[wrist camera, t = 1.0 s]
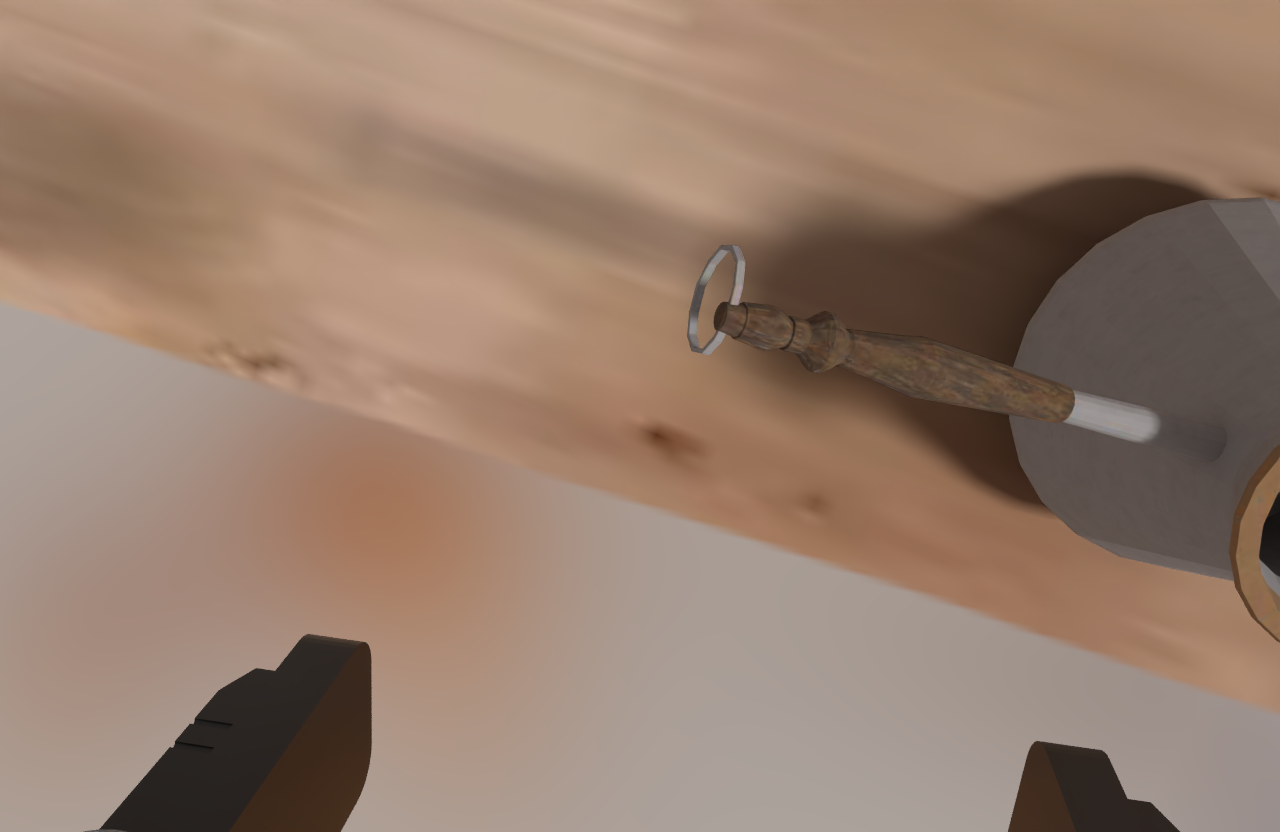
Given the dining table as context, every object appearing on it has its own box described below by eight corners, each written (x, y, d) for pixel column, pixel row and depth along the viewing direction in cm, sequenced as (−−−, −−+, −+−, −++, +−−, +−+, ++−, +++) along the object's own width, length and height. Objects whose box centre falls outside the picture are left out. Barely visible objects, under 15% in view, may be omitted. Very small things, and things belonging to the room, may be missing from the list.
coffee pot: (1444, 261, 32) (1971, 427, 18) (1246, 574, 36) (1553, 909, 22) (787, 16, 32) (807, -7, 18) (660, 358, 36) (594, 559, 22)
